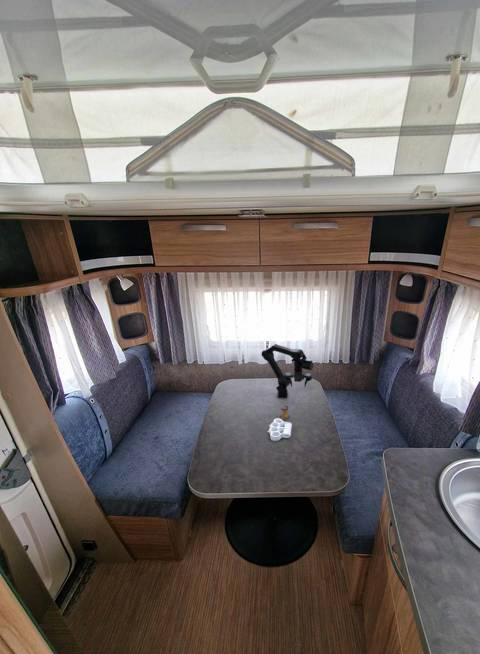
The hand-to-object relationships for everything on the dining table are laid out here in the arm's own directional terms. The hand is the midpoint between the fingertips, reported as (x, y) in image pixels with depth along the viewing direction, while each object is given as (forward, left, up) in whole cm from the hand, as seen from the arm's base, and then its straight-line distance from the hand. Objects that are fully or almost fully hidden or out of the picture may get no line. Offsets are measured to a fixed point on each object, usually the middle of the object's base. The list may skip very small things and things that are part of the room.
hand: (298, 386), depth 203 cm
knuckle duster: (-10, -37, -11) cm, 40 cm away
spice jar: (-8, -22, -11) cm, 26 cm away
